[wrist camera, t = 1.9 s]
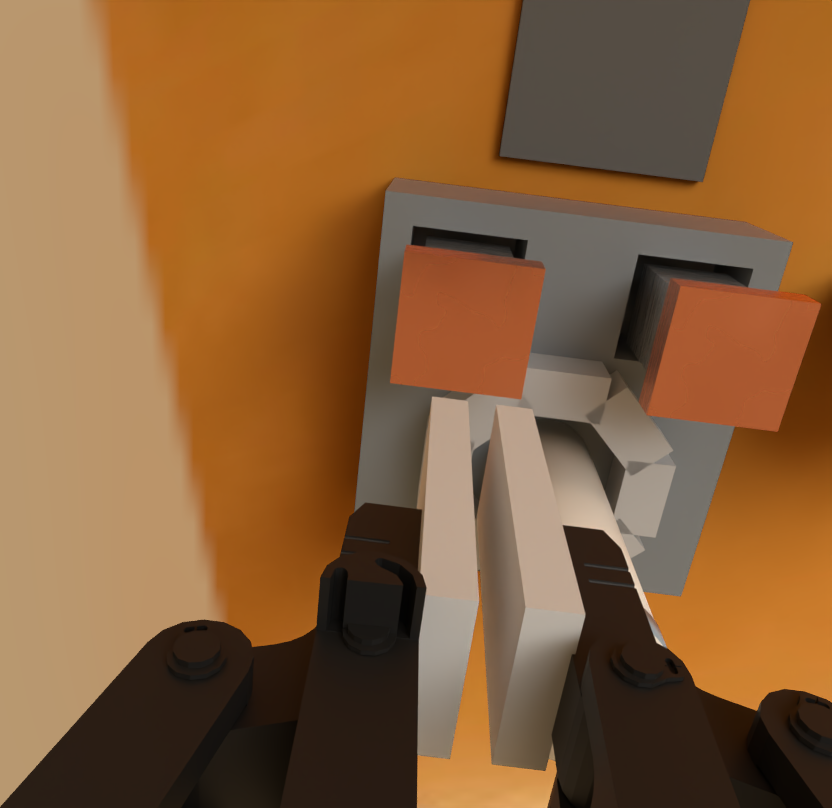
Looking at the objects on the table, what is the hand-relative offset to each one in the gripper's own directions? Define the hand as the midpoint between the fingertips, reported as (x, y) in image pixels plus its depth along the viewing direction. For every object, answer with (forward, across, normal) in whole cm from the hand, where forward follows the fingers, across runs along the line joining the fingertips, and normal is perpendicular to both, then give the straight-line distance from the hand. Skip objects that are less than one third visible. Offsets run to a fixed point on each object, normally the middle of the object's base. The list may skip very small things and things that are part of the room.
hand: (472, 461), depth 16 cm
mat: (+20, +6, +9) cm, 23 cm away
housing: (+20, +4, -5) cm, 21 cm away
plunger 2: (+16, +9, 0) cm, 19 cm away
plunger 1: (+16, 0, 0) cm, 16 cm away
